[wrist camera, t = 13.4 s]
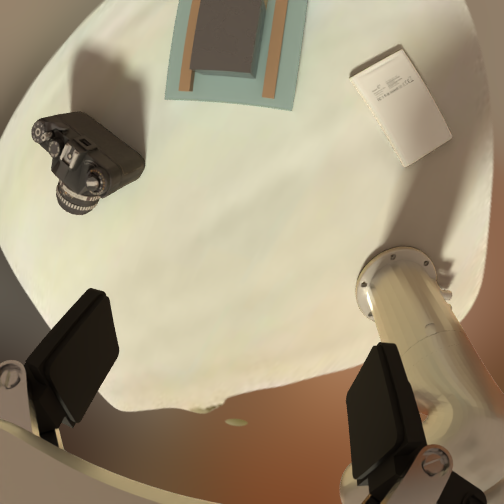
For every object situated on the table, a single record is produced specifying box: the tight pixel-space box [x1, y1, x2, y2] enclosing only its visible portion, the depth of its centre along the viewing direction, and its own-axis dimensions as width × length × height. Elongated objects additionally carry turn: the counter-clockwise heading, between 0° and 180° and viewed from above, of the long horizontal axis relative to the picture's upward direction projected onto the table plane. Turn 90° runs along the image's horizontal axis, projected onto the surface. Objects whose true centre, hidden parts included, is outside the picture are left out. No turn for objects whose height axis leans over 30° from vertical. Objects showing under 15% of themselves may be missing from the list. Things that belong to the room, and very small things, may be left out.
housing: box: [189, 0, 268, 79], centre depth 23 cm, size 10×6×5 cm, turn 173°
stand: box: [165, 0, 308, 111], centre depth 26 cm, size 14×16×4 cm
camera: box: [32, 112, 145, 215], centre depth 32 cm, size 14×11×10 cm
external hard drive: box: [349, 49, 453, 167], centre depth 29 cm, size 2×8×12 cm
